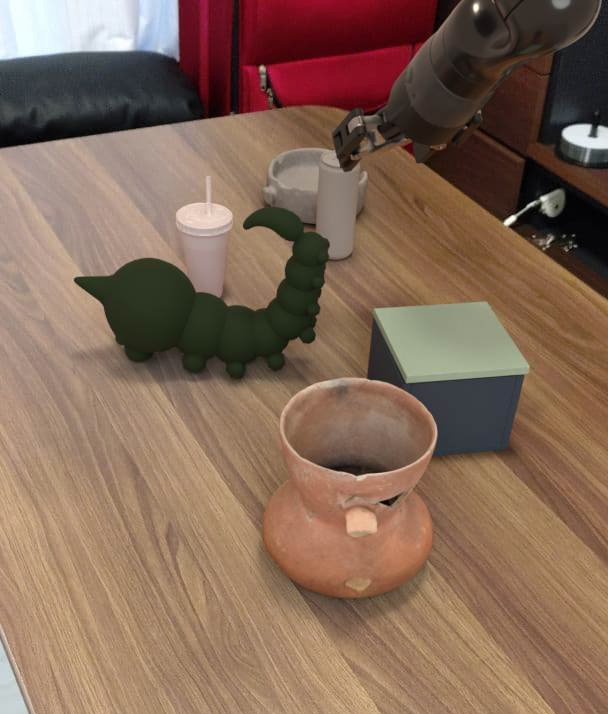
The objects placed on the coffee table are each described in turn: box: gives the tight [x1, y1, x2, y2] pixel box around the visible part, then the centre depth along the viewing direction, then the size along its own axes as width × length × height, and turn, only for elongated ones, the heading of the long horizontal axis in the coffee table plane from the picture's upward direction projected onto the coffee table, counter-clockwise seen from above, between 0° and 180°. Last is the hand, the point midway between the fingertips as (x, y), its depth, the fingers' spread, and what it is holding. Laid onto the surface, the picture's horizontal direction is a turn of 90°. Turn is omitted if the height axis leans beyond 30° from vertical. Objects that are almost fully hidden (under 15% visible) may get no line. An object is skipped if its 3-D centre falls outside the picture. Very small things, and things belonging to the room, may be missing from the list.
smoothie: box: [175, 175, 234, 299], centre depth 109 cm, size 6×6×14 cm
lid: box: [372, 301, 531, 383], centre depth 92 cm, size 12×12×1 cm
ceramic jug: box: [261, 376, 437, 599], centre depth 80 cm, size 18×14×14 cm
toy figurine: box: [73, 206, 330, 379], centre depth 98 cm, size 9×19×25 cm
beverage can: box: [315, 149, 361, 261], centre depth 118 cm, size 5×5×12 cm
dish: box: [261, 147, 369, 225], centre depth 130 cm, size 14×14×5 cm
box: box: [366, 316, 526, 457], centre depth 96 cm, size 12×12×9 cm
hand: (381, 158), depth 104 cm, fingers open, 8 cm apart
